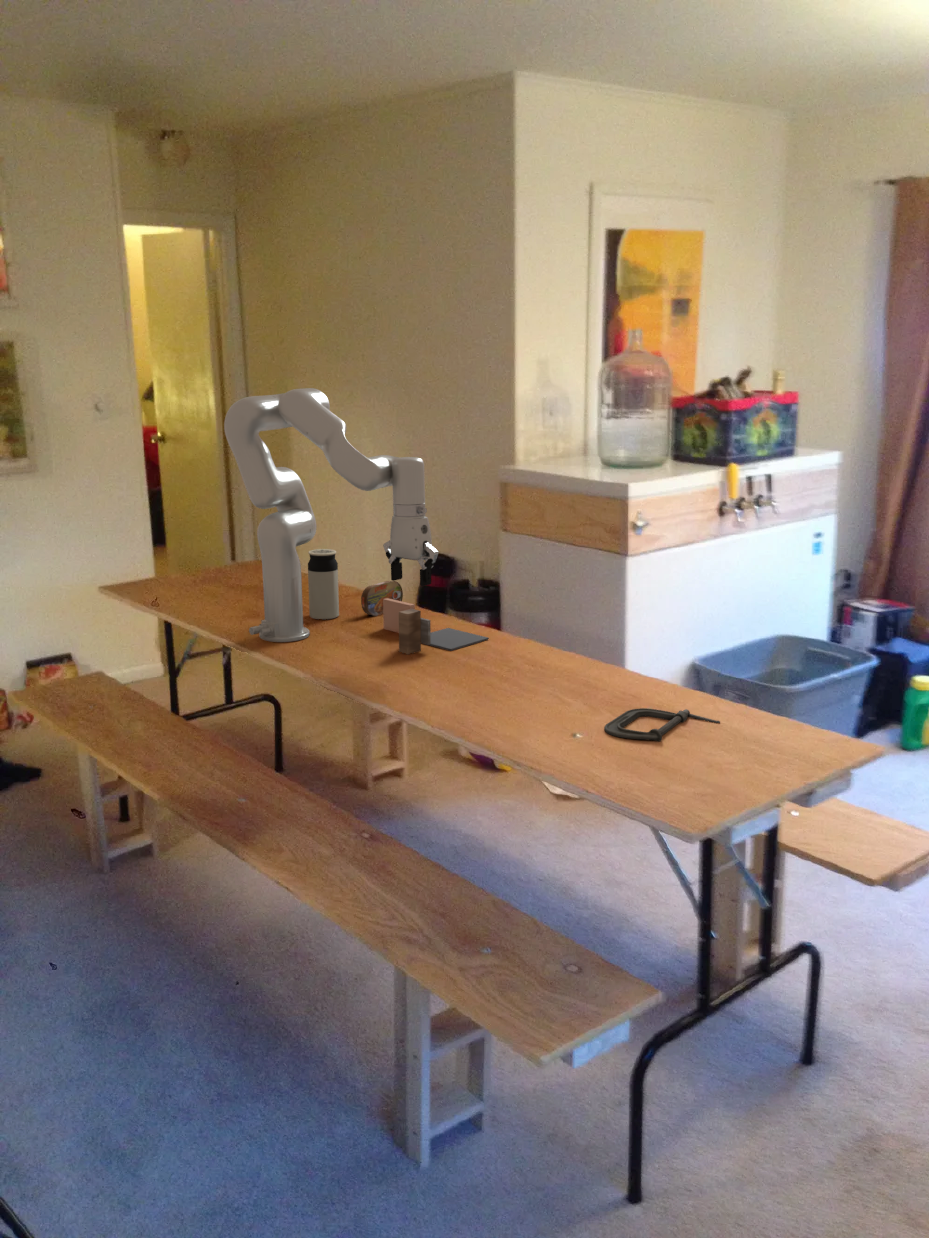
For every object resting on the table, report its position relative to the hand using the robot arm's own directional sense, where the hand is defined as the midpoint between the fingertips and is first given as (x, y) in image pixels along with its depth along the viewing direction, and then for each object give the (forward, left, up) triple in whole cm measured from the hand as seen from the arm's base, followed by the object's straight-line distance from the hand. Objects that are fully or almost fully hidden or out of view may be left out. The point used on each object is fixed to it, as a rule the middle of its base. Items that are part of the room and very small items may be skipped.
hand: (411, 582), depth 254 cm
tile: (+11, +15, -17) cm, 25 cm away
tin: (+22, +33, -17) cm, 44 cm away
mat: (+14, 0, -17) cm, 22 cm away
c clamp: (-4, -72, -18) cm, 74 cm away
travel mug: (+8, +41, -17) cm, 46 cm away
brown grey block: (0, 0, -17) cm, 17 cm away
